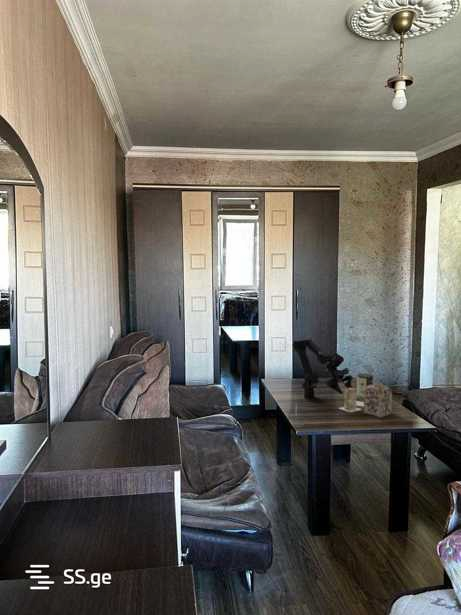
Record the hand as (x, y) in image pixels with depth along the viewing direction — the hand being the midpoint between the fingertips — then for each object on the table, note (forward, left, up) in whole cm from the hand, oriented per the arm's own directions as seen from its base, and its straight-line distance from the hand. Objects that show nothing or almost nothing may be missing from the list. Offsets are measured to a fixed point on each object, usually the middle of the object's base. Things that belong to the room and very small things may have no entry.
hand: (347, 392), depth 275 cm
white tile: (+2, -1, -10) cm, 10 cm away
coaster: (+7, +12, -10) cm, 17 cm away
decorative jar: (+18, -3, -10) cm, 21 cm away
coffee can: (+7, +34, -10) cm, 36 cm away
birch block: (+2, -1, -9) cm, 10 cm away
